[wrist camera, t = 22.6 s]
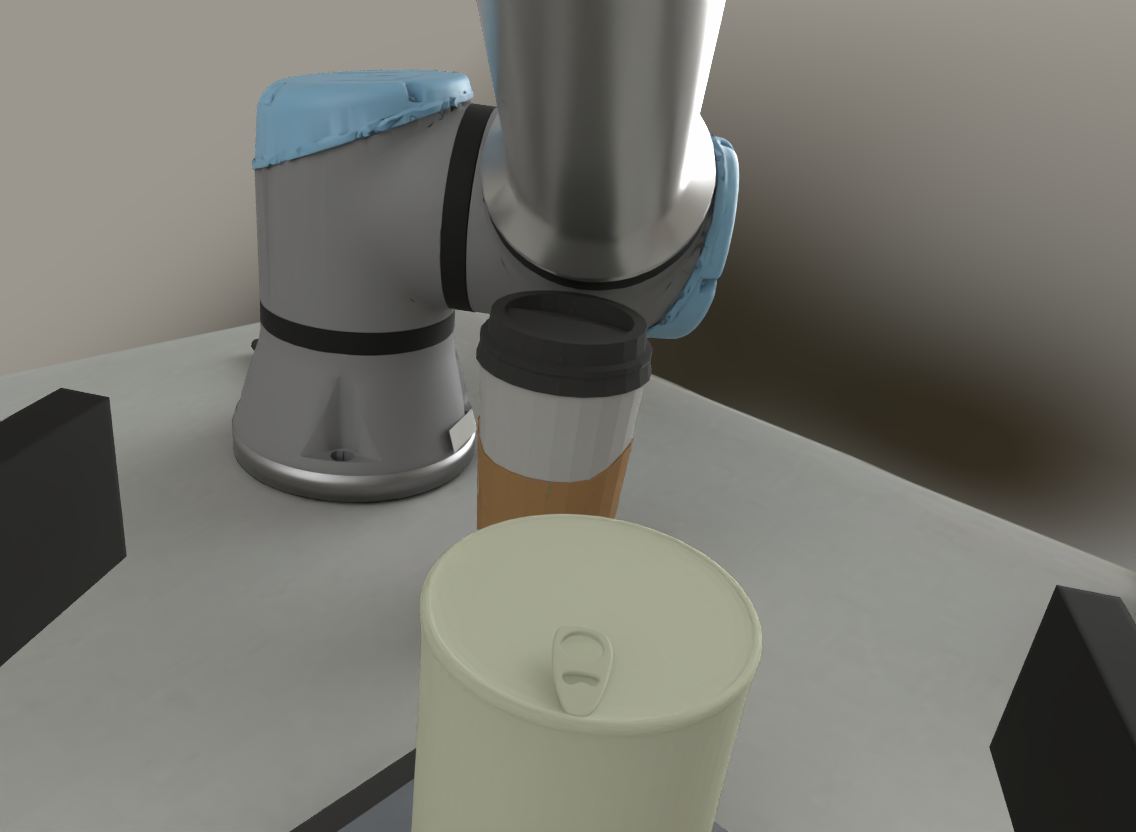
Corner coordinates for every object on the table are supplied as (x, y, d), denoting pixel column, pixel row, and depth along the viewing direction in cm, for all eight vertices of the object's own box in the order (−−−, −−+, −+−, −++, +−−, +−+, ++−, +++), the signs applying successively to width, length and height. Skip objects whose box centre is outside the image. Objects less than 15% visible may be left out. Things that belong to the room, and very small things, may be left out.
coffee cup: (494, 524, 54) (518, 275, 48) (632, 562, 52) (676, 309, 46) (431, 603, 47) (449, 322, 40) (588, 651, 45) (633, 364, 38)
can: (363, 1016, 26) (374, 677, 21) (437, 765, 34) (458, 479, 29) (695, 1073, 25) (790, 742, 20) (688, 804, 34) (753, 523, 29)
